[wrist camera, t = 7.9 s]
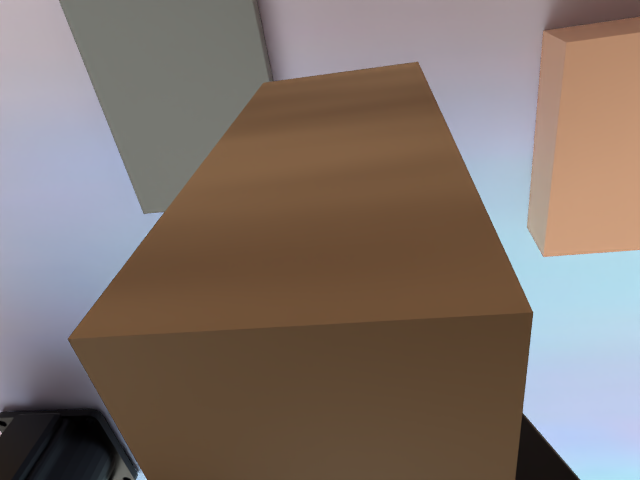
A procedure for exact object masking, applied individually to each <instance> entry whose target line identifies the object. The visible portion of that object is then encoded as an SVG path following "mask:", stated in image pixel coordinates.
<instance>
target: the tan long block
mask: <svg viewBox="0 0 640 480" xmlns="http://www.w3.org/2000/svg"><path fill="white" fill-rule="evenodd" d="M532 318H533V311H532V309H531V307H530V305H529V302H528V300H527V298H526V296H525V294H524V291H523V289H522V287H521V285H520V283H519V281H518V278H517V276H516V274H515V272H514V270H513V268H512V265H511V263H510V261H509V259H508V257H507V254H506V252H505V250H504V248H503V246H502V244H501V241H500V239H499V237H498V235H497V233H496V230H495V228H494V226H493V224H492V222H491V220H490V217H489V215H488V213H487V211H486V209H485V207H484V204H483V202H482V200H481V198H480V196H479V193H478V191H477V189H476V187H475V185H474V183H473V180H472V178H471V176H470V174H469V172H468V170H467V167H466V165H465V163H464V161H463V159H462V156H461V154H460V152H459V150H458V148H457V146H456V143H455V141H454V139H453V137H452V135H451V133H450V130H449V128H448V126H447V124H446V122H445V119H444V117H443V115H442V113H441V111H440V109H439V106H438V104H437V102H436V100H435V98H434V95H433V93H432V91H431V89H430V87H429V85H428V82H427V80H426V78H425V76H424V74H423V72H422V69H421V67H420V65H419V63H418V62H413V63H405V64H398V65H391V66H383V67H376V68H369V69H361V70H354V71H346V72H339V73H332V74H324V75H317V76H310V77H302V78H295V79H288V80H280V81H273V82H266V83H263V84H262V85H261V86H260V88H259V89H258V90H257V92H256V93H255V94H254V96H253V97H252V98H251V100H250V101H249V102H248V103H247V105H246V106H245V107H244V109H243V110H242V111H241V113H240V114H239V115H238V117H237V118H236V119H235V121H234V122H233V123H232V124H231V126H230V127H229V128H228V130H227V131H226V132H225V134H224V135H223V136H222V138H221V139H220V140H219V141H218V143H217V144H216V145H215V147H214V148H213V149H212V151H211V152H210V153H209V155H208V156H207V157H206V158H205V160H204V161H203V162H202V164H201V165H200V166H199V168H198V169H197V170H196V172H195V173H194V174H193V176H192V177H191V178H190V179H189V181H188V182H187V183H186V185H185V186H184V187H183V189H182V190H181V191H180V193H179V194H178V195H177V196H176V198H175V199H174V200H173V202H172V203H171V204H170V206H169V207H168V208H167V210H166V211H165V212H164V214H163V215H162V216H161V217H160V219H159V220H158V221H157V223H156V224H155V225H154V227H153V228H152V229H151V231H150V232H149V233H148V234H147V236H146V237H145V238H144V240H143V241H142V242H141V244H140V245H139V246H138V248H137V249H136V250H135V251H134V253H133V254H132V255H131V257H130V258H129V259H128V261H127V262H126V263H125V265H124V266H123V267H122V269H121V270H120V271H119V272H118V274H117V275H116V276H115V278H114V279H113V280H112V282H111V283H110V284H109V286H108V287H107V288H106V289H105V291H104V292H103V293H102V295H101V296H100V297H99V299H98V300H97V301H96V303H95V304H94V305H93V307H92V308H91V309H90V310H89V312H88V313H87V314H86V316H85V317H84V318H83V320H82V321H81V322H80V324H79V325H78V326H77V327H76V329H75V330H74V331H73V333H72V334H71V335H70V337H69V338H68V341H69V342H70V344H71V346H72V348H73V349H74V351H75V353H76V355H77V357H78V358H79V360H80V362H81V364H82V365H83V367H84V369H85V371H86V372H87V374H88V376H89V378H90V380H91V381H92V383H93V385H94V387H95V388H96V390H97V392H98V394H99V395H100V397H101V399H102V401H103V403H104V404H105V406H106V408H107V410H108V411H109V413H110V415H111V417H112V418H113V420H114V422H115V424H116V426H117V427H118V429H119V431H120V433H121V434H122V436H123V438H124V440H125V441H126V443H127V445H128V447H129V449H130V450H131V452H132V454H133V456H134V457H135V459H136V461H137V463H138V464H139V466H140V468H141V470H142V472H143V473H144V475H145V477H146V479H147V480H515V477H516V467H517V458H518V449H519V439H520V430H521V421H522V412H523V402H524V393H525V384H526V374H527V365H528V356H529V346H530V337H531V328H532Z"/></svg>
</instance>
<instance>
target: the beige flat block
mask: <svg viewBox="0 0 640 480" xmlns="http://www.w3.org/2000/svg"><path fill="white" fill-rule="evenodd" d="M527 228H528V230H529V232H530V233H531V235H532V237H533V239H534V241H535V243H536V244H537V246H538V248H539V250H540V252H541V254H542V255H543V257H548V256H562V255H575V254H589V253H603V252H616V251H630V250H640V17H634V18H627V19H620V20H613V21H606V22H599V23H592V24H585V25H579V26H572V27H565V28H558V29H551V30H544V31H543V40H542V52H541V64H540V76H539V88H538V100H537V112H536V124H535V136H534V149H533V161H532V173H531V185H530V197H529V209H528V221H527Z"/></svg>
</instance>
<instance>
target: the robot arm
mask: <svg viewBox="0 0 640 480" xmlns="http://www.w3.org/2000/svg"><path fill="white" fill-rule="evenodd" d="M0 431H1V432H2V434H1V436H0V480H136V478H137V476H138V474H137V472H136V470H135V469H134V467H133V465H132V464H131V462H130V460H129V459H128V457H127V455H126V454H125V452H124V450H123V449H122V447H121V445H120V444H119V442H118V440H117V439H116V437H115V435H114V434H113V432H112V430H111V429H110V427H109V425H108V424H107V422H106V420H105V419H104V417H103V415H102V414H101V413H100V412H98V411H96V410H93V409H82V410H51V411H19V412H1V413H0ZM515 480H580V479H579V478H578V476H577V475H576V474H575V473H574V472H573V471H572V469H571V468H570V467H569V466H568V465H567V464H566V462H565V461H564V460H563V459H562V458H561V457H560V456H559V454H558V453H557V452H556V451H555V450H554V449H553V447H552V446H551V445H550V444H549V443H548V442H547V440H546V439H545V438H544V437H543V436H542V435H541V433H540V432H539V431H538V430H537V429H536V428H535V427H534V425H533V424H532V423H531V422H530V421H529V420H528V418H527V417H526V416H525V415H524V414H523V413H522V421H521V430H520V439H519V449H518V458H517V467H516V477H515Z"/></svg>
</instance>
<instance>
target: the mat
mask: <svg viewBox="0 0 640 480" xmlns="http://www.w3.org/2000/svg"><path fill="white" fill-rule="evenodd" d="M59 1H60V4H61V6H62V9H63V11H64V14H65V17H66V19H67V22H68V24H69V27H70V29H71V32H72V34H73V37H74V39H75V42H76V44H77V47H78V49H79V52H80V54H81V57H82V59H83V62H84V64H85V67H86V69H87V72H88V74H89V77H90V80H91V82H92V85H93V87H94V90H95V92H96V95H97V97H98V100H99V102H100V105H101V107H102V110H103V112H104V115H105V117H106V120H107V122H108V125H109V127H110V130H111V132H112V135H113V137H114V140H115V143H116V145H117V148H118V150H119V153H120V155H121V158H122V160H123V163H124V165H125V168H126V170H127V173H128V175H129V178H130V180H131V183H132V185H133V188H134V190H135V193H136V195H137V198H138V200H139V203H140V206H141V208H142V211H143V213H144V214H147V213H157V212H165V211H166V210H167V208H168V207H169V206H170V204H171V203H172V202H173V200H174V199H175V198H176V196H177V195H178V194H179V193H180V191H181V190H182V189H183V187H184V186H185V185H186V183H187V182H188V181H189V179H190V178H191V177H192V176H193V174H194V173H195V172H196V170H197V169H198V168H199V166H200V165H201V164H202V162H203V161H204V160H205V158H206V157H207V156H208V155H209V153H210V152H211V151H212V149H213V148H214V147H215V145H216V144H217V143H218V141H219V140H220V139H221V138H222V136H223V135H224V134H225V132H226V131H227V130H228V128H229V127H230V126H231V124H232V123H233V122H234V121H235V119H236V118H237V117H238V115H239V114H240V113H241V111H242V110H243V109H244V107H245V106H246V105H247V103H248V102H249V101H250V100H251V98H252V97H253V96H254V94H255V93H256V92H257V90H258V89H259V88H260V86H261V85H262V84H263V83H266V82H273V78H272V73H271V68H270V63H269V58H268V53H267V48H266V43H265V38H264V34H263V29H262V24H261V19H260V14H259V9H258V4H257V0H59Z"/></svg>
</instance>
